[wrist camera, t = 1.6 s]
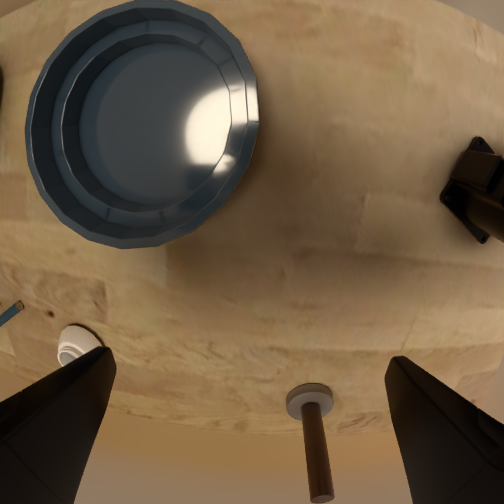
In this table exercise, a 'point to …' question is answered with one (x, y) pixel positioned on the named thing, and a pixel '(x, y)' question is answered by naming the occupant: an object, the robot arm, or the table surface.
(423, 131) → the table surface
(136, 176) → the bowl
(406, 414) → the robot arm
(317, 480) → the wooden dowel with disc
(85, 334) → the lidless jar
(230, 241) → the table surface
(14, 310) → the pencil
